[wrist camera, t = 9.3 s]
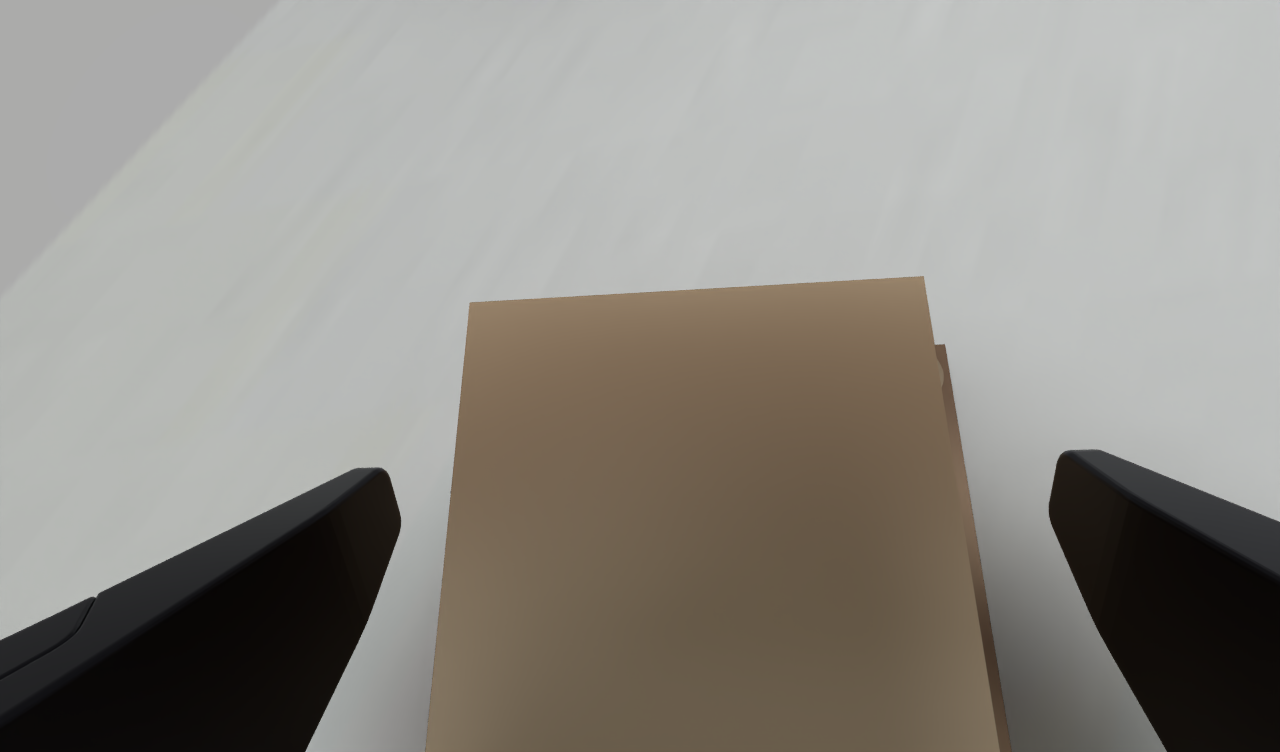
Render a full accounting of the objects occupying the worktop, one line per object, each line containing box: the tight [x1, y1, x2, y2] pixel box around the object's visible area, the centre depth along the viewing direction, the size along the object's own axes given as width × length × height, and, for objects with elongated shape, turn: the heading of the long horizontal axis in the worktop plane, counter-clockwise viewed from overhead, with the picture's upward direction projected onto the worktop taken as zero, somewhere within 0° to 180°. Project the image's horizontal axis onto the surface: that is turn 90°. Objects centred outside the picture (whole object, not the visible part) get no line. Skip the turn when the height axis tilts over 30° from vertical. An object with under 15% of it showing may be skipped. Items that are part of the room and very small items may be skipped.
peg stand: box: [935, 344, 1012, 752], centre depth 16 cm, size 13×12×4 cm
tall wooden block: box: [425, 276, 1000, 752], centre depth 11 cm, size 6×4×11 cm
